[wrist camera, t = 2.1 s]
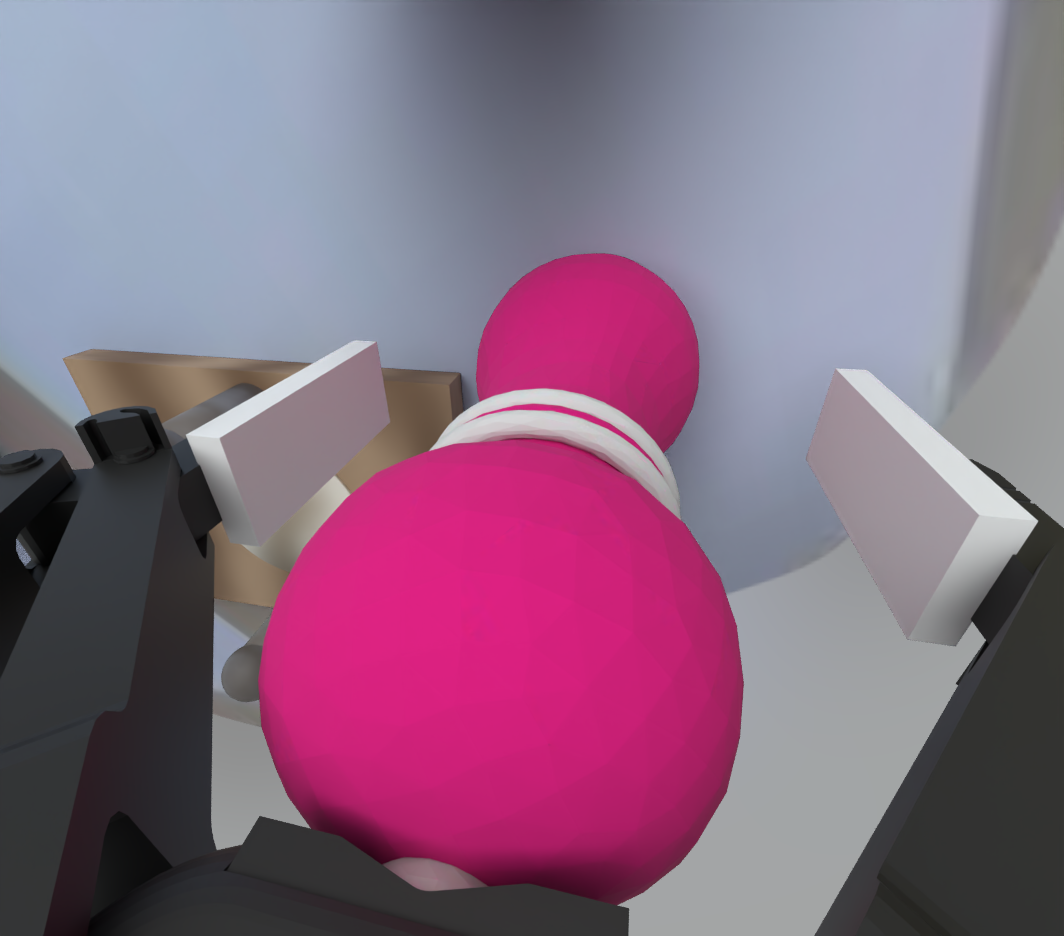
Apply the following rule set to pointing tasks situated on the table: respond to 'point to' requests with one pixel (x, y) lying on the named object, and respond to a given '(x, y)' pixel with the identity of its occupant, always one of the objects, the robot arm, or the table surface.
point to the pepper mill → (520, 618)
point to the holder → (220, 385)
